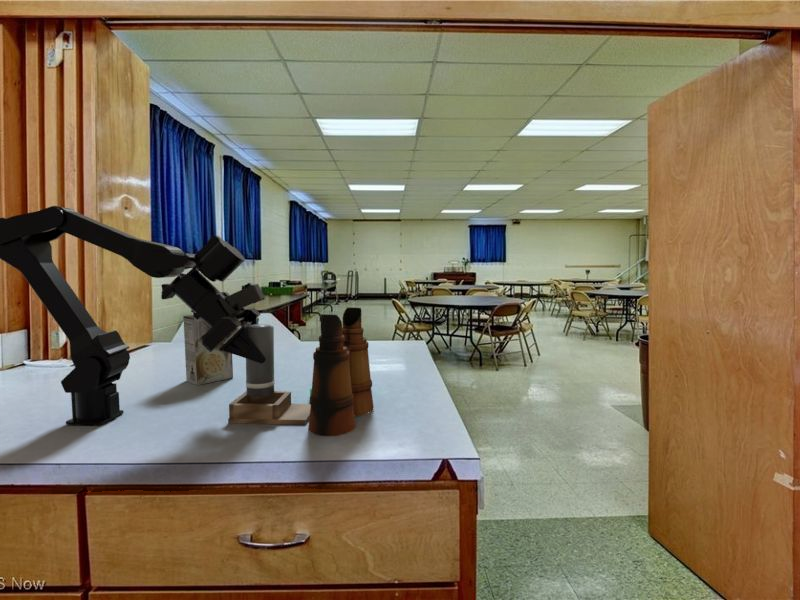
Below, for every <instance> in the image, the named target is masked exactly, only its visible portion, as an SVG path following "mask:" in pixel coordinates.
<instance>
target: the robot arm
mask: <svg viewBox="0 0 800 600" xmlns="http://www.w3.org/2000/svg"><path fill="white" fill-rule="evenodd" d="M65 234H68V235H70V236H72V237H75V238H77V239H80V240H82V241H85V242H87V243H90V244H91V245H93V246H97V247H99V248H101V249H104V250H106V251H109V252H111V253H114V254H116V255H118V256H121V258H123V259H125V260H127V261H128V263H130V264H131V265H132V266H133V267H135V268H136V269H138V270H139V271H141V272H142V273H143V274H145V275H147V276H150V277H152V278H155V279H161V278H163V279H164V278H174V277H175V278H174V279H173V280H171V282H170V283H162V284H161V297H160V298H161V300H169V299H173V298H174V297H175V296H176V297H178V298H179V299H180V300H181V301H182V302H183V303H184V304H185V305H186V306H187V307H188V308H190V309H191V311H192V312H193V313H194V314H193V316H194V317H195V318H196V319H197V320H198V319H202V320H203V321H204V322H205V323H206V324H207V325H209V326H210V327H211V329H210V330H209V331H208V332H207V333H206V334H205V335H204V336H202V345H203V346H204V347H205V348H206V349H207V350H209V351H210V352H212V351H214V350H215V349H216V348H217V347H218V346H217V345H219V344H220V343H221V342H223V343H224V345H223V346H222V347H221V348H220V349H219V350H220V351H225V352H228V353H231V354H232V355H236V356H237V357H241V358H244V359H246V358H247V359H250V360H252V361H255V362H258V363H261V364H262V363H264V362H265V361H266V358H265V357H264V355H263V354H262V353H261V351H260V350H259V349H258V347H257V346H256V345H255V344H254V342H253V341H252V340H251V339H250V337H249V336H248V326H249V325H255V324H259V322H260V318H259V316H261V313H260V312H259V310H257V309H256V308H255V307H248V306H250V305H252V304H256V303H258V302H261V301H264V300H265V299H266V298H265V295H264V293H263V288H261V286H260V285H259V283H255V284H254V283H252V282H247V283H246V284H244V285H241V290H238V291H236V292H234V293H232V294H230V293H228V292H227V291H223V292H222V291H220V290H219V289H218V288H217V287H216V286H215V285H214V284H212V282H213V283H215V282H216V281H219V282H222V283H223V282H225V280H226V279H228V277H230V276H231V275H232V274H233V273H234V272H235V271H236V270H237V269H238V268H239V267H240V266H241V265H242V264H243V263H244V262H245V260H246V259H245V257H244V256H243V254H242V253H241V252H240V251H239V250H238V249H237V248H236V247H234V246H232V245H231V244H230V243H229V242H227V241H226V240H224V239H223V238H222V237H221V236H219V235H218V234H213V235H212V236H211V237H209V239H208V241H207V243H205V245H204V246H202V248H201V249H199V250H198V251H197V252H196V253H185V252H184V251H183V250H182V249H181V248H179V247H177V246H173V245H169V244H165V243H160V242H156V241H151V240H147V239H142V238H139V237H136V236H134V235H131V234H129V233H126V232H124V231H122V230H119V229H117V228H115V227H112V226H111V225H110V226H109V225H108V224H105V223H103V222H101V221H98V220H95V219H93V218H91V217H89V216H87V215H84V214H82V213H79V212H78V211H77V210H75V209H73V208H70V207H65V206H64V207H62V206H58V205H52V206H49V207H48V206H47V207H46V208H43V209H40V210H37V211H31V212H26V213H22V214H18V215H14V216H13V215H12V216H10V217H0V260H1V261H4V263H6V264H8V265H10V267H12V268H14V269H16V270H17V271H19V272H20V273H21V274H22V276H23V277H24V279H25V280H26V281H27V283H28V284H29V286H30V287H31V289H32V290H33V291H34V293H35V294H36V296H37V298H39V300H40V302H41V303H42V304H43V306H44V307H45V308H46V310H47V311H48V313H49V314H50V315H51V317H52V318H53V320H54V321H55V322H56V324H57V325H58V327H59V328H60V329H61V331H62V332H63V333H64V336H65V337H66V338H67V340H68V341H69V353H70V355H69V356H70V359H71V363H72V364H73V366H74V368H73V369H72V370H71V371H70V372H69V373H68V374H67V375H65V377H64V378H63V379H62V380H60V383H61V387H62V389H63V391H64V393H70V395H71V396H70V397H71V398H70V399H71V413H72V416H71V417H72V418H70V419H68V420H66V421H65V425H76V424H82V425H85V426H86V425H87V426H88V425H89V426H90V425H91V426H94V425H95V426H98V425H99V426H100V425H103V424H105V423H106V422H109V421H110V420H113V419H115V418H116V417H119V416H120V415H122V414H124V410H123V409H122V410H121V409H120V408H121V406H120V393H119V391H117V387H118V386H117V383H114V382H116V381H119V380H120V379H121V376H122V374H123V372H124V371H125V370H126V369H127V367H128V366H129V363H130V359H131V355H130V353H129V350H128V349H130V346H129V345H127V344H126V343H125V342H124V341H123V339H122V336H121V334H120V333H119V331H118V330H116V329H115V330H111V331H108V332H107V331H105V330H104V329H102V328H101V327H99V325H97V323H96V322H95V320H94V319H93V316H91V313H89V311H88V310H87V309H86V307H85V306H84V304H83V303H82V302H81V300H80V298H79V297H78V296H77V294H76V292H75V291H74V290H73V288H72V287H71V286H70V284H69V283H68V282H67V280H66V278H65V277H64V276H63V274H62V273H61V272H60V270H59V269H58V267H57V265H56V264H55V263H54V261H53V249H52V248H53V247H52V244H51V242H53V241H56V240H58V239H59V238H61V237H62V236H64V235H65ZM188 269H190V270H189V271H188V272H187V273H184V272H185V270H188ZM246 307H247V308H246Z"/></svg>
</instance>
